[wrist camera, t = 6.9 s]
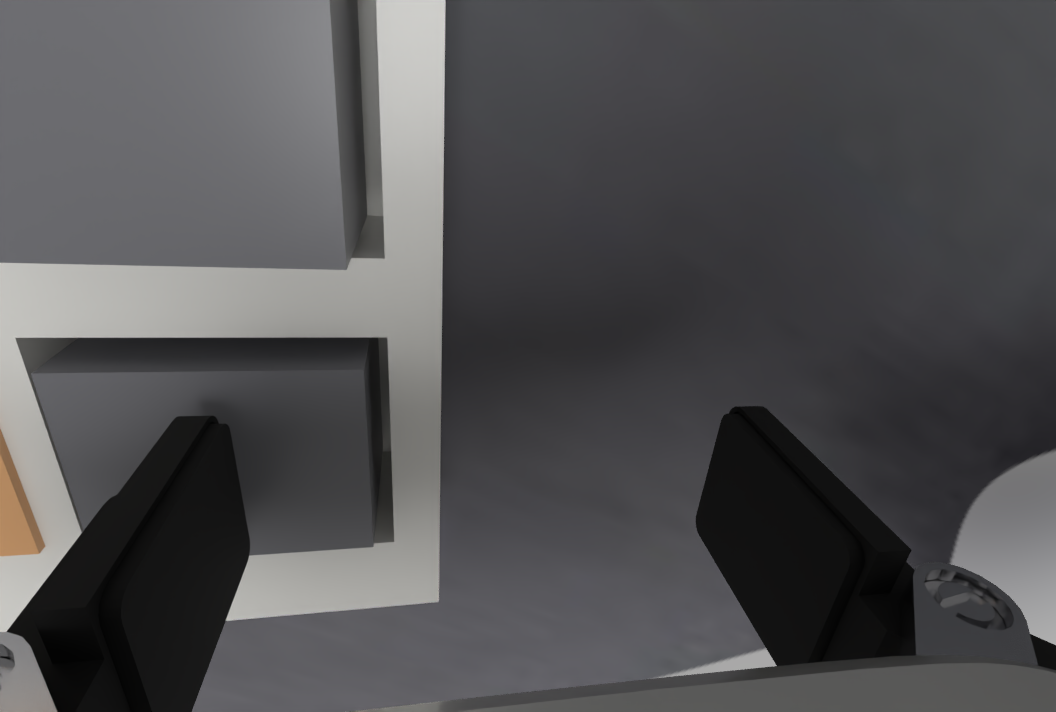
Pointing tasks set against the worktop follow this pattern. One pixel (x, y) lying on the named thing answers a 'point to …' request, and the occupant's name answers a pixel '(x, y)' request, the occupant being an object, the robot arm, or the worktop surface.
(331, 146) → the button
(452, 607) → the worktop surface
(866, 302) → the worktop surface
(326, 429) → the button
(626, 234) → the worktop surface
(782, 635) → the robot arm
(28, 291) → the switch box
